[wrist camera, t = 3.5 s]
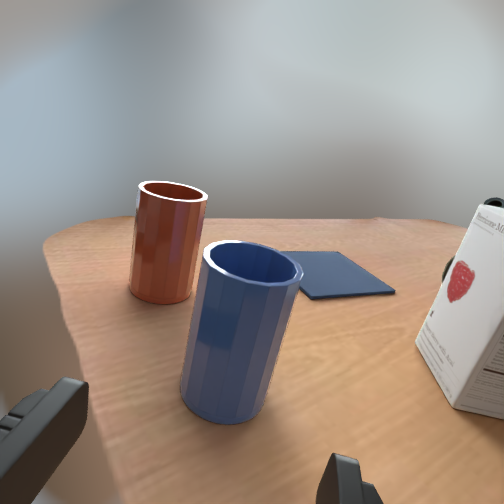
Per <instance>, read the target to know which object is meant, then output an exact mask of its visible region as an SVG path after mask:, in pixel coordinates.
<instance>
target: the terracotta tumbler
mask: <svg viewBox="0 0 504 504" xmlns="http://www.w3.org/2000/svg"><path fill="white" fill-rule="evenodd" d="M206 202H207V195H206V194H205V193H204V192H203V191H200V190H198V189H196V188H193V187H190V186H186V185H182V184H178V183H172V182H163V181H148V182H143V183H141V184H140V185H139V186H138V193H137V205H136V215H135V225H134V235H133V245H132V256H131V266H130V276H129V282H130V283H129V288H130V291H131V292H132V294H134V295H135V296H136V297H138V298H139V299H141V300H144V301H147V302H151V303H156V304H173V303H178V302H181V301H183V300H185V299H186V298H188V297H189V295H190V294H191V290H192V284H193V278H194V272H195V266H196V261H197V255H198V249H199V243H200V237H201V232H202V226H203V220H204V214H205V208H206Z"/></svg>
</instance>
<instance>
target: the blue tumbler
mask: <svg viewBox="0 0 504 504" xmlns="http://www.w3.org/2000/svg"><path fill="white" fill-rule="evenodd" d="M302 278H303V271H302V269H301V267H300V265H299V264H298V263H297V262H296V261H295V260H293V259H292V258H291V257H290V256H288V255H286V254H284V253H282V252H280V251H278V250H276V249H273V248H270V247H267V246H264V245H261V244H257V243H251V242H245V241H227V240H226V241H220V242H215V243H212V244H210V245H209V246H207V247H206V248H204V251H203V257H202V262H201V268H200V273H199V279H198V285H197V290H196V296H195V301H194V307H193V313H192V318H191V324H190V329H189V335H188V341H187V346H186V352H185V357H184V363H183V369H182V375H181V381H180V393H181V396H182V398H183V401H184V402H185V404H186V405H187V406H188V408H189V409H190V410H191V411H192V412H194V413H195V414H196V415H198V416H199V417H201V418H203V419H205V420H208V421H210V422H214V423H218V424H228V425H230V424H238V423H242V422H245V421H248V420H250V419H252V418H253V417H254V416H256V415H257V414H258V413H259V412H260V410H261V409H262V407H263V405H264V402H265V398H266V396H267V394H268V390H269V387H270V384H271V380H272V377H273V374H274V370H275V367H276V364H277V360H278V357H279V354H280V350H281V347H282V344H283V341H284V337H285V334H286V331H287V327H288V324H289V321H290V317H291V314H292V311H293V307H294V304H295V301H296V297H297V294H298V291H299V287H300V284H301V281H302Z"/></svg>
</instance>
